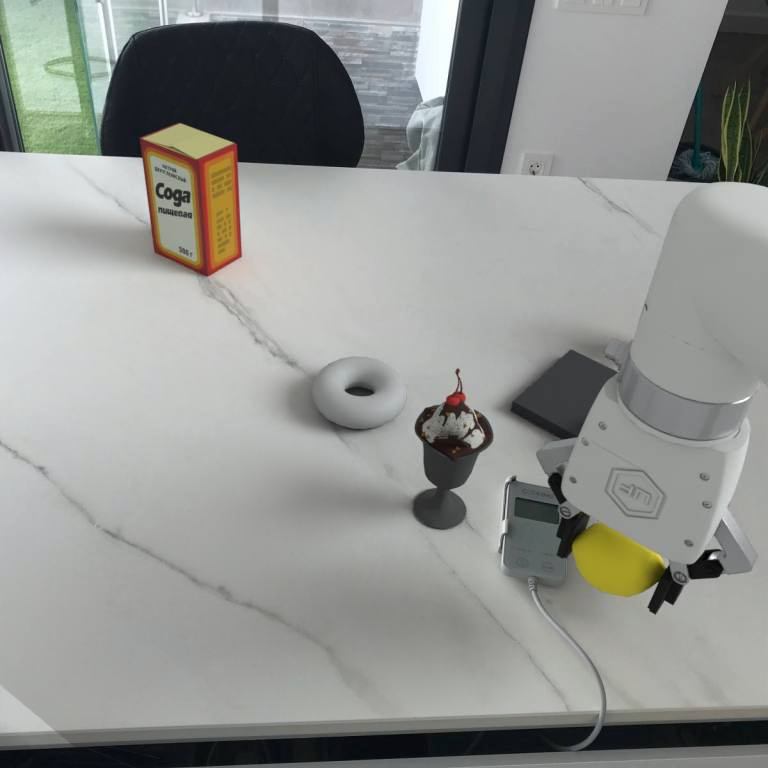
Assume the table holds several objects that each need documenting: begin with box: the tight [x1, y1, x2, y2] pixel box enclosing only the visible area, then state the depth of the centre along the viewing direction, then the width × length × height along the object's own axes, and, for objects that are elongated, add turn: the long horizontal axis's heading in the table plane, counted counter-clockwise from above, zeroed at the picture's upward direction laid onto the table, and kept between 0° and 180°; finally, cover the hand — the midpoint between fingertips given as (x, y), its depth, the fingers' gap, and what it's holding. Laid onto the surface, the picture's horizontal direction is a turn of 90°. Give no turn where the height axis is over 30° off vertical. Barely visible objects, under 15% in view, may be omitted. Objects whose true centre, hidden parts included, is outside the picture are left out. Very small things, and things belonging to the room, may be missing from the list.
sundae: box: [413, 368, 494, 530], centre depth 67 cm, size 7×7×15 cm
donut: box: [311, 356, 408, 430], centre depth 81 cm, size 10×4×10 cm
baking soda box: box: [139, 122, 243, 277], centre depth 98 cm, size 10×6×16 cm
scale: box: [510, 348, 619, 440], centre depth 83 cm, size 14×14×3 cm
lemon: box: [572, 521, 667, 598], centre depth 57 cm, size 7×5×5 cm
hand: (613, 571), depth 58 cm, fingers closed on lemon, 6 cm apart
